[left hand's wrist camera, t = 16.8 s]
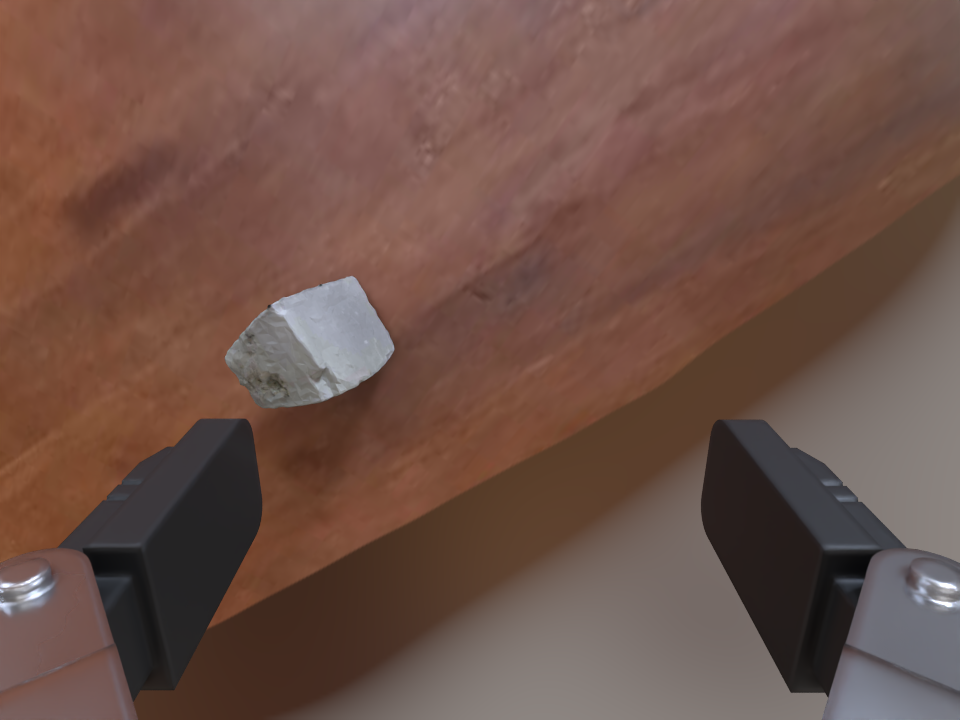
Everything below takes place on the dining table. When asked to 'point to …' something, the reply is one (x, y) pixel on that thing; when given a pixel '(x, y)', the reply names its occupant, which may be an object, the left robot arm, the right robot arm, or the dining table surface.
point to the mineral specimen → (311, 346)
